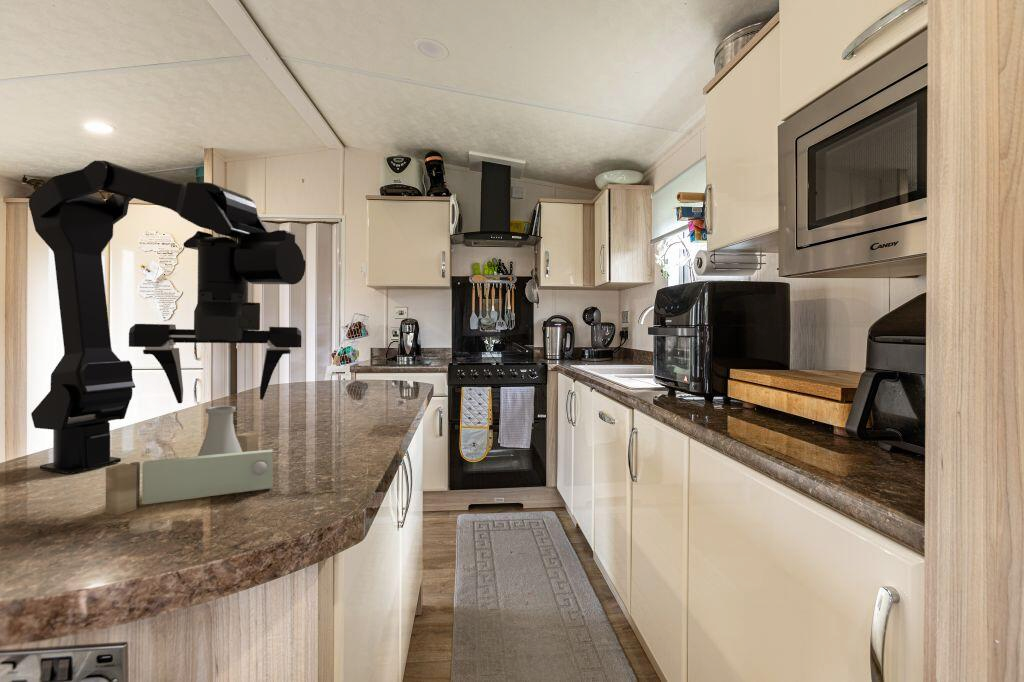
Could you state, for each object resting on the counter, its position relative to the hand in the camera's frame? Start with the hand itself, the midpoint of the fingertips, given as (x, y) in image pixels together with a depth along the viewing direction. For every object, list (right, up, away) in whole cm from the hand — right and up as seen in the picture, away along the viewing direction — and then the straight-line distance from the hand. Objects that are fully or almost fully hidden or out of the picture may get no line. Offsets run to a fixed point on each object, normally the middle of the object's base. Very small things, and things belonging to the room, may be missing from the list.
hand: (222, 401), depth 61 cm
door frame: (-3, -11, -2) cm, 11 cm away
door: (+2, -11, -6) cm, 12 cm away
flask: (0, -11, 0) cm, 11 cm away
